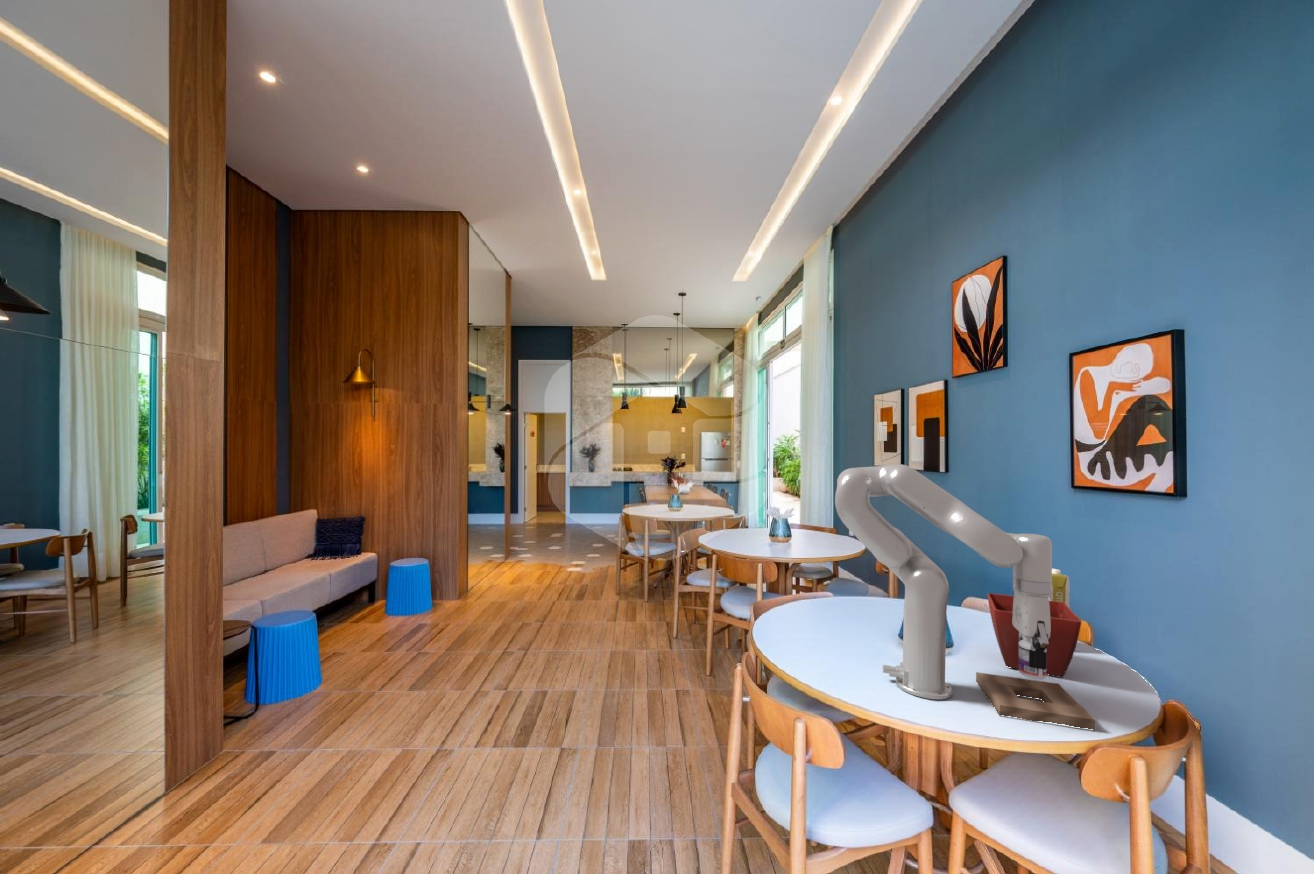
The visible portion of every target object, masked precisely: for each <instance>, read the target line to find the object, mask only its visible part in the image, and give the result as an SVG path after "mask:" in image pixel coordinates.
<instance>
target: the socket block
mask: <svg viewBox="0 0 1314 874" xmlns="http://www.w3.org/2000/svg"><path fill="white" fill-rule="evenodd" d="M975 674H976V675H975V682H977V683H978V684H977V683H976V684H977V685H978V687H979V686H980V687H981V688H980V687H979V688H980V690H981V689H982V690H981V691H982V693H983V692H984V693H985V694H984V693H983V694H984V696H985V695H986V696H987V697H986V696H985V697H986V698H988V699H989V700H990V701H989V700H988V699H987V700H988V701H989V703H990V702H991V703H992V704H991V703H990V704H991V706H992V705H993V706H992V707H993V708H994V707H995V709H996V710H995V709H994V710H995V712H996V711H997V712H996V713H997V714H999V715H1004V716H1011V717H1017V718H1022V719H1026V720H1025V721H1027V720H1032V721H1031V722H1033V721H1043V722H1052V723H1057V724H1065V725H1069V726H1074V727H1080V728H1088V729H1093V730H1095V731H1097V729H1096V728H1097V726H1096V725H1097V724H1096V723H1097V720H1096V719H1095V718H1094V716H1093V715H1092V714H1090V713H1089V711H1087V710H1086V708H1084V707H1083V706H1082V705H1081V704H1080V703H1079V702H1078V701H1077V700H1076V699H1075V698H1074V697H1073V696H1072V695H1071V694H1070V693H1069V692H1068V691H1066V689H1064V687H1062V686H1061V685H1060V683H1056V682H1049V681H1041V680H1035V679H1028V678H1027V679H1025V678H1020V677H1012V676H1004V675H999V674H992V673H984V672H977V671H976V672H975ZM1017 695H1020V696H1026V697H1032V698H1039V699H1042V700H1043V701H1044V702H1043V701H1042V700H1036V699H1030V698H1023V697H1018V696H1017ZM999 715H998V716H999ZM1095 731H1094V732H1095Z"/></svg>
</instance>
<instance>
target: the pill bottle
mask: <svg viewBox="0 0 1314 874" xmlns="http://www.w3.org/2000/svg"><path fill="white" fill-rule="evenodd" d="M1033 637H1039V635H1035V634H1034V636H1033ZM1022 638H1023V640H1020V641H1019V644H1018V647H1019V670H1018V672H1019V673H1020V674H1021V675H1023V676H1025V677H1027V678H1031V679H1034V680H1035V679H1036V680H1043V679H1046V678H1047V675H1046V674H1047V669H1037V668H1031V667H1030V666H1029V650H1031V646H1030V637H1029V638H1027V637H1025V636H1024V635H1023V634H1022ZM1034 642H1035V644H1036V642H1039V640H1034Z"/></svg>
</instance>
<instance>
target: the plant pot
mask: <svg viewBox="0 0 1314 874" xmlns="http://www.w3.org/2000/svg"><path fill="white" fill-rule="evenodd" d="M987 599H988V600H987V601H988V607H989V613H990V618H991V623H992V626H993V630H994V634H995V638H996V641H997V645H998V648H999V651H1000V654H1001V656H1002V659H1003V662H1004V665H1005V666H1008V667H1011V668H1016V669H1019V647H1018V644H1019V631H1018V630H1017V629H1016V628H1015V627H1014V626H1013V624H1012V615H1013V599H1014V595H1007V594H999V593H991V592H989V593H987ZM1049 606H1050V622H1051V632H1050V638H1049V639H1048V642H1049V644H1048V645H1047V648H1046V649H1047V652H1046V669H1047V674H1049V675H1048V676H1050V675H1054V676H1053V677H1055V676H1060V677H1059V678H1063V677H1064V676H1065V675H1066V673H1067V671H1068V668H1069V667H1070V664H1071V661H1072V659H1073V656H1074V654H1075V650H1076V647H1077V644H1078V641H1079V636H1080V632H1081V626H1082V620H1081V619H1080V618H1079V617H1078V615H1077V614H1075V612H1073V611H1072V609H1071V608H1070V606H1069V607H1068V606H1067V605H1066V604H1065V603H1062V602H1056V601H1049ZM1008 667H1007V668H1008ZM1011 668H1010V669H1011ZM1016 669H1015V670H1016Z"/></svg>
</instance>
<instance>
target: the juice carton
mask: <svg viewBox="0 0 1314 874" xmlns="http://www.w3.org/2000/svg"><path fill="white" fill-rule="evenodd" d="M1061 572H1062V570H1060V569H1056V568H1053V567H1052V596H1050V597H1049V601H1056V602H1062V603H1065V604H1066V605H1067V606H1068V607H1069V608H1070V604H1071V603H1070V598H1071V597H1070V596H1071V595H1070V594H1071V593H1070V592H1071V590H1070V589H1071V587H1070V577H1069V576H1068V575H1066V574H1062V573H1061Z"/></svg>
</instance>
